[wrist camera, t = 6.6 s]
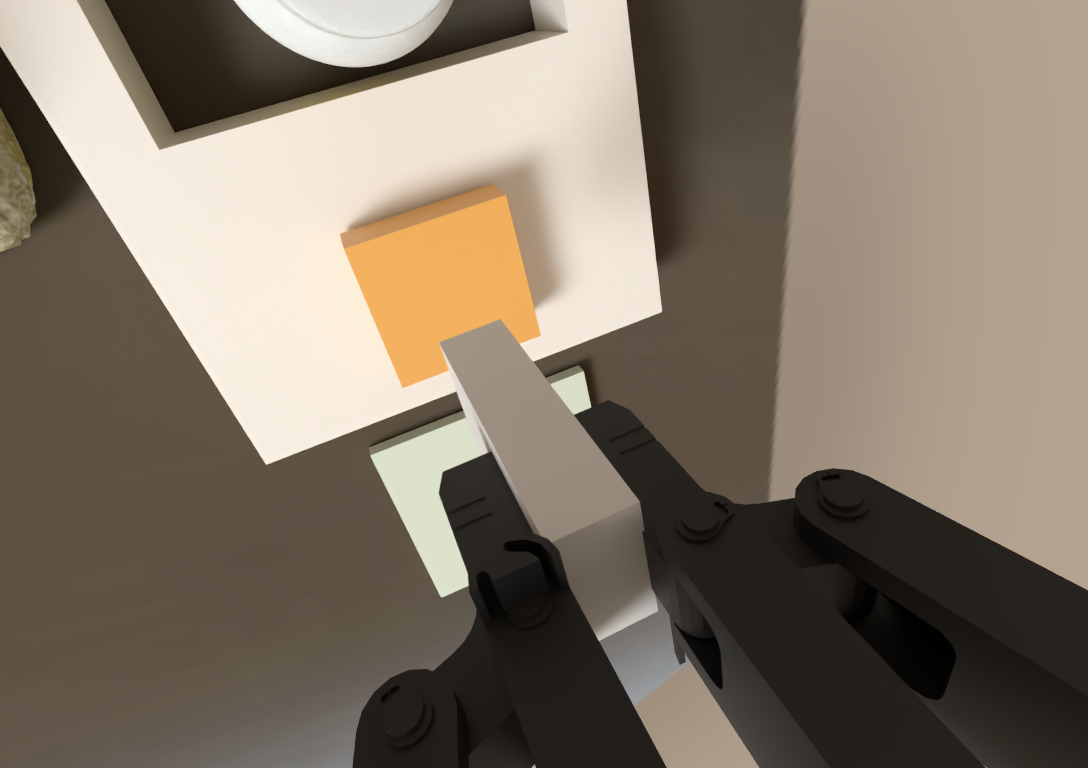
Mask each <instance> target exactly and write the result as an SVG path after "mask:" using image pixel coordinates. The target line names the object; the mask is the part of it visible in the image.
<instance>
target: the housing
mask: <svg viewBox="0 0 1088 768" xmlns="http://www.w3.org/2000/svg"><path fill="white" fill-rule="evenodd" d="M530 4H531V10H532V15H533V20H534V25H535V31H531V32H527V33H524V34H520V35H517V36H513V37H510V38H506V39H503V40H499V41H496V42H492V43H489V44H485V45H482V46H478V47H475V48H471V49H468V50H464V51H461V52H457V53H454V54H450V55H447V56H443V57H440V58H436V59H432V60H429V61H425V62H422V63H418V64H415V65H411V66H408V67H404V68H401V69H397V70H394V71H390V72H387V73H383V74H380V75H376V76H373V77H369V78H366V79H362V80H359V81H355V82H352V83H348V84H344V85H341V86H337V87H334V88H330V89H327V90H323V91H320V92H316V93H313V94H309V95H306V96H302V97H299V98H295V99H292V100H288V101H285V102H281V103H278V104H274V105H271V106H267V107H264V108H260V109H257V110H253V111H249V112H246V113H242V114H239V115H235V116H232V117H228V118H225V119H221V120H218V121H214V122H211V123H207V124H204V125H200V126H197V127H193V128H190V129H186V130H183V131H179V132H176V133H175V132H174V130H173V128H172V127H171V125H170V123H169V121H168V119H167V117H166V115H165V113H164V111H163V110H162V108H161V106H160V104H159V102H158V100H157V98H156V96H155V95H154V93H153V91H152V89H151V87H150V85H149V83H148V81H147V79H146V78H145V76H144V74H143V72H142V70H141V68H140V66H139V64H138V62H137V61H136V59H135V57H134V55H133V53H132V51H131V49H130V47H129V45H128V44H127V42H126V40H125V38H124V36H123V34H122V32H121V30H120V28H119V27H118V25H117V23H116V21H115V19H114V17H113V15H112V13H111V11H110V10H109V8H108V6H107V4H106V2H105V0H0V47H1V48H2V50H3V51H4V53H5V55H6V56H7V58H8V59H9V61H10V62H11V64H12V66H13V67H14V69H15V70H16V72H17V73H18V75H19V77H20V78H21V80H22V81H23V83H24V84H25V86H26V88H27V89H28V91H29V92H30V94H31V95H32V97H33V99H34V100H35V102H36V103H37V105H38V106H39V108H40V110H41V111H42V113H43V114H44V116H45V117H46V119H47V121H48V122H49V124H50V125H51V127H52V128H53V130H54V132H55V133H56V135H57V136H58V138H59V139H60V141H61V143H62V144H63V146H64V147H65V149H66V151H67V152H68V154H69V155H70V157H71V158H72V160H73V162H74V163H75V165H76V166H77V168H78V169H79V171H80V173H81V174H82V176H83V177H84V179H85V180H86V182H87V184H88V185H89V187H90V188H91V190H92V191H93V193H94V195H95V196H96V198H97V199H98V201H99V202H100V204H101V206H102V207H103V209H104V210H105V212H106V213H107V215H108V217H109V218H110V220H111V221H112V223H113V224H114V226H115V228H116V229H117V231H118V232H119V234H120V235H121V237H122V239H123V240H124V242H125V243H126V245H127V246H128V248H129V250H130V251H131V253H132V254H133V256H134V257H135V259H136V261H137V262H138V264H139V265H140V267H141V268H142V270H143V272H144V273H145V275H146V276H147V278H148V279H149V281H150V283H151V284H152V286H153V287H154V289H155V290H156V292H157V294H158V295H159V297H160V298H161V300H162V301H163V303H164V305H165V306H166V308H167V309H168V311H169V312H170V314H171V316H172V317H173V319H174V320H175V322H176V323H177V325H178V327H179V328H180V330H181V331H182V333H183V334H184V336H185V338H186V339H187V341H188V342H189V344H190V345H191V347H192V349H193V350H194V352H195V353H196V355H197V356H198V358H199V360H200V361H201V363H202V364H203V366H204V368H205V369H206V371H207V372H208V374H209V375H210V377H211V379H212V380H213V382H214V383H215V385H216V386H217V388H218V390H219V391H220V393H221V394H222V396H223V397H224V399H225V401H226V402H227V404H228V405H229V407H230V408H231V410H232V412H233V413H234V415H235V416H236V418H237V419H238V421H239V423H240V424H241V426H242V427H243V429H244V430H245V432H246V434H247V435H248V437H249V438H250V440H251V441H252V443H253V445H254V446H255V448H256V449H257V451H258V452H259V454H260V456H261V457H262V459H263V460H264V462H265V463H266V465H267V464H269V463H272V462H274V461H277V460H279V459H282V458H285V457H287V456H290V455H292V454H295V453H298V452H300V451H303V450H305V449H308V448H311V447H313V446H316V445H318V444H321V443H324V442H326V441H329V440H331V439H334V438H336V437H339V436H342V435H344V434H347V433H349V432H352V431H355V430H357V429H360V428H362V427H365V426H368V425H370V424H373V423H375V422H378V421H381V420H383V419H386V418H388V417H391V416H393V415H396V414H399V413H401V412H404V411H406V410H409V409H412V408H414V407H417V406H419V405H422V404H425V403H427V402H430V401H432V400H435V399H437V398H440V397H443V396H445V395H448V394H450V393H453V392H456V388H455V386H454V383H453V380H452V377H451V375H450V372H449V371H446V372H444V373H441V374H439V375H436V376H433V377H431V378H428V379H425V380H423V381H420V382H417V383H415V384H412V385H410V386H407V387H404V388H402V385H401V383H400V381H399V378H398V376H397V374H396V371H395V369H394V367H393V364H392V362H391V359H390V357H389V355H388V352H387V350H386V348H385V345H384V343H383V341H382V338H381V336H380V333H379V331H378V329H377V326H376V324H375V322H374V319H373V317H372V315H371V312H370V310H369V307H368V305H367V303H366V300H365V298H364V296H363V293H362V291H361V289H360V286H359V284H358V281H357V279H356V277H355V274H354V272H353V270H352V267H351V265H350V263H349V260H348V258H347V255H346V253H345V251H344V248H343V244H342V241H341V237H340V234H341V233H344V232H347V231H350V230H353V229H356V228H359V227H362V226H365V225H368V224H371V223H374V222H377V221H380V220H384V219H387V218H390V217H393V216H396V215H399V214H402V213H405V212H408V211H411V210H414V209H417V208H420V207H423V206H426V205H429V204H432V203H435V202H439V201H442V200H445V199H448V198H451V197H454V196H457V195H460V194H463V193H466V192H469V191H472V190H475V189H478V188H481V187H484V186H487V185H490V184H493V185H494V186H495V187H497V188H498V189H499V190H500V191H502V192H503V193H504V194H505V195H506V197H507V201H508V205H509V209H510V213H511V217H512V221H513V225H514V229H515V233H516V237H517V241H518V245H519V249H520V253H521V257H522V261H523V265H524V269H525V273H526V277H527V281H528V285H529V289H530V293H531V297H532V301H533V305H534V309H535V313H536V317H537V321H538V325H539V329H540V333H541V336H539V337H536V338H533V339H531V340H528V341H526V342H523V343H520V345H521V347H522V348H523V349H524V351H525V352H526V353H527V355H528V356H529V357H530V358H531V360H532V361H536V360H538V359H541V358H544V357H546V356H549V355H551V354H554V353H557V352H559V351H562V350H564V349H567V348H570V347H572V346H575V345H577V344H580V343H583V342H585V341H588V340H590V339H593V338H595V337H598V336H601V335H603V334H606V333H608V332H611V331H614V330H616V329H619V328H621V327H624V326H627V325H629V324H632V323H634V322H637V321H639V320H642V319H645V318H647V317H650V316H652V315H655V314H658V313H660V312H662V307H661V298H660V290H659V281H658V272H657V263H656V255H655V246H654V237H653V228H652V220H651V211H650V202H649V193H648V185H647V176H646V167H645V158H644V150H643V141H642V132H641V124H640V115H639V106H638V97H637V89H636V80H635V71H634V62H633V54H632V45H631V36H630V27H629V19H628V10H627V1H626V0H530Z"/></svg>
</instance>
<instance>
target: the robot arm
mask: <svg viewBox="0 0 1088 768" xmlns="http://www.w3.org/2000/svg"><path fill="white" fill-rule="evenodd" d="M439 344H440V347H441V350H442V352H443V355H444V358H445V361H446V363H447V366H448V369H449V372H450V375H451V377H452V380H453V383H454V386H455V388H456V391H457V394H458V397H459V399H460V402H461V405H462V408H463V411H464V413H465V416H466V419H467V422H468V424H469V427H470V430H471V433H472V435H473V437H474V439H475V441H476V443H477V445H478V447H479V449H480V451H481V453H482V455H481V456H479V457H477V458H474V459H472V460H469V461H467V462H465V463H462V464H460V465H458V466H455V467H453V468H450V469H448V470H446V471H443V473H442V478H441V483H440V489H439V496H440V499H441V501H442V504H443V507H444V510H445V512H446V515H447V518H448V521H449V523H450V526H451V529H452V531H453V535H454V537H455V540H456V543H457V546H458V548H459V551H460V554H461V557H462V559H463V562H464V565H465V568H466V570H467V573H468V584H469V593H470V595H471V597H472V599H473V602H474V604H475V606H476V608H477V611H476V618H475V621H474V624H473V627H472V630H471V631H470V633H469V635H468V636H467V638H466V639H465V641H464V642H463V643H462V645H461V646H460V647H459V648H458V649H457V650H456V651H455V652H454V653H453V654H452V655H451V656H450V657H449V658H447V659H446V660H445V661H444V662H443V663H442V664H441V665H440V666H438V667H437V668H436V669H435V670H434V671H430V670H428V669H418V670H408V671H405V672H403V673H401V674H399V675H396V676H394V677H392V678H390V679H389V680H388V681H386V682H385V683H384V684H383V685H382V686H381V687H380V688H378V689H377V690H376V691H375V692H374V693H373V695H372V696H371V698H370V699H369V701H368V702H367V704H366V706H365V707H364V709H363V710H362V713H361V717H360V720H359V724H358V727H357V731H356V740H355V749H354V758H353V768H532V767H533V765H534V764H535V766H536V768H666V766H665V764H664V762H663V760H662V758H661V756H660V755H659V753H658V751H657V749H656V747H655V745H654V743H653V741H652V739H651V738H650V736H649V734H648V732H647V730H646V728H645V727H644V725H643V723H642V721H641V719H640V717H639V715H638V714H637V711H636V710H635V708H634V706H633V704H632V702H631V700H630V698H629V697H628V695H627V693H626V691H625V689H624V687H623V685H622V683H621V682H620V680H619V678H618V676H617V674H616V672H615V670H614V668H613V667H612V665H611V663H610V661H609V659H608V657H607V655H606V654H605V652H604V650H603V648H602V646H601V644H600V642H599V640H601V639H603V638H605V637H607V636H609V635H611V634H613V633H615V632H617V631H619V630H621V629H623V628H625V627H627V626H629V625H631V624H633V623H635V622H637V621H639V620H641V619H643V618H645V617H647V616H649V615H651V614H653V613H655V612H657V611H658V609H657V603H656V596H657V597H658V599H659V600H660V602H661V603H662V604H663V606H664V607H665V609H666V610H667V612H668V613H669V615H670V622H671V629H672V636H673V643H674V649H675V654H676V656H677V659H678V661H679V664H682V663H684V662H686V661H685V654H686V655H687V657H688V658H689V660H690V662H691V663H692V665H693V666H694V668H695V669H696V671H697V672H698V674H699V675H700V677H701V678H702V680H703V681H704V683H705V685H706V686H707V688H708V689H709V691H710V692H711V694H712V695H713V697H714V698H715V700H716V702H717V703H718V704H719V706H720V708H721V709H722V711H723V712H724V714H725V715H726V717H727V718H728V720H729V722H730V723H731V724H732V726H733V728H734V729H735V731H736V732H737V734H738V735H739V737H740V738H741V740H742V741H743V743H744V745H745V746H746V748H747V749H748V750H749V752H750V753H751V755H752V757H753V758H754V760H755V761H756V763H757V765H758V766H759V767H760V768H985V767H984V766H986V767H987V768H1088V590H1086V589H1084V588H1082V587H1080V586H1078V585H1076V584H1074V583H1073V582H1071V581H1069V580H1067V579H1065V578H1063V577H1061V576H1059V575H1057V574H1055V573H1053V572H1052V571H1049V570H1048V569H1046V568H1044V567H1042V566H1040V565H1038V564H1036V563H1034V562H1032V561H1030V560H1028V559H1026V558H1024V557H1023V556H1021V555H1019V554H1017V553H1015V552H1013V551H1011V550H1009V549H1007V548H1005V547H1003V546H1001V545H1000V544H998V543H996V542H994V541H992V540H990V539H988V538H986V537H984V536H982V535H980V534H978V533H977V532H974V531H973V530H971V529H969V528H967V527H965V526H963V525H961V524H959V523H957V522H955V521H954V520H951V519H950V518H948V517H946V516H944V515H942V514H940V513H938V512H936V511H934V510H932V509H930V508H929V507H927V506H924V505H923V504H921V503H919V502H917V501H915V500H913V499H911V498H909V497H907V496H905V495H903V494H902V493H900V492H898V491H896V490H894V489H892V488H890V487H888V486H886V485H884V484H882V483H880V482H879V481H877V480H874V479H873V478H871V477H869V476H866V475H863V474H861V473H858V472H855V471H852V470H843V469H834V468H833V469H827V470H821V471H816V472H814V473H812V474H810V475H808V476H807V477H805V478H803V479H802V481H801V482H800V483H799V485H798V486H797V488H796V493H795V498H791V499H786V500H779V501H773V502H767V503H760V504H748V505H744V504H734V503H733V502H731V501H730V500H729V499H727V498H726V497H724V496H721V495H717V494H714V493H711V492H706V491H704V490H703V489H702V488H701V487H700V486H699V485H698V484H697V483H696V482H695V481H694V480H693V479H692V477H691V476H690V475H689V474H688V473H687V472H686V471H685V470H684V469H683V468H682V467H681V465H680V464H679V463H678V462H677V461H676V460H675V459H674V458H673V457H672V456H671V454H670V453H669V452H668V451H667V450H666V449H665V448H664V447H663V446H662V445H661V443H660V442H659V441H656V439H655V437H654V436H653V435H652V434H651V433H650V431H649V430H648V429H647V428H646V429H645V427H644V425H643V424H642V423H641V422H640V420H639V419H638V418H637V417H636V416H635V415H634V414H633V413H632V412H631V411H630V410H629V409H627V408H625V407H622V406H620V405H618V404H616V403H613V402H611V401H609V400H608V401H605V402H603V403H600V404H598V405H596V406H593V407H591V408H589V409H586V410H584V411H581V412H579V413H577V414H574V415H573V413H572V412H571V411H570V410H569V408H568V407H567V406H566V404H565V403H564V402H563V400H562V399H561V398H560V396H559V395H558V394H557V393H556V391H555V390H554V389H553V387H552V386H551V385H550V383H549V382H548V381H547V379H546V378H545V377H544V375H543V374H542V373H541V372H540V370H539V369H538V368H537V366H536V365H535V364H534V362H533V361H532V360H531V358H530V357H529V356H528V355H527V353H526V352H525V351H524V349H523V348H522V347H521V345H520V344H519V343H518V341H517V340H516V339H515V337H514V336H513V335H512V334H511V332H510V331H509V330H508V328H507V327H506V326H505V324H504V323H503V322H502V320H501V319H499V320H497V321H494V322H491V323H489V324H486V325H484V326H481V327H478V328H476V329H473V330H470V331H468V332H465V333H462V334H460V335H457V336H455V337H452V338H449V339H447V340H444V341H441V342H439ZM655 594H656V596H655ZM684 652H685V653H684ZM983 765H984V766H983Z"/></svg>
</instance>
